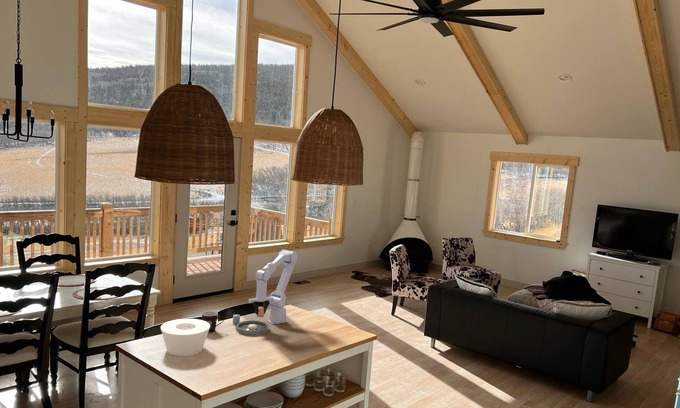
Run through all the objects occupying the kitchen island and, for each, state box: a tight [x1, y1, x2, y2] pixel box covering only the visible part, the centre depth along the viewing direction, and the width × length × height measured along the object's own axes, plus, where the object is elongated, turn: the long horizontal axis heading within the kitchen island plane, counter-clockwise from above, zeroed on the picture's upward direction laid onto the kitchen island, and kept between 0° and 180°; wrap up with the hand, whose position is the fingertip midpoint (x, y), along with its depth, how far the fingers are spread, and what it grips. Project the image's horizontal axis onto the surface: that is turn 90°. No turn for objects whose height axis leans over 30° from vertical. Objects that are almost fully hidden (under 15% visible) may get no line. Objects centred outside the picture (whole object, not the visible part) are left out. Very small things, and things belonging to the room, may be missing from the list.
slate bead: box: [232, 314, 241, 326], centre depth 303 cm, size 4×4×5 cm
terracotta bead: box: [256, 306, 265, 318], centre depth 298 cm, size 4×4×5 cm
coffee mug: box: [201, 310, 225, 334], centre depth 288 cm, size 12×9×10 cm
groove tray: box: [235, 320, 270, 337], centre depth 295 cm, size 18×18×2 cm
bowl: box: [160, 318, 210, 357], centre depth 261 cm, size 24×24×12 cm
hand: (260, 313), depth 298 cm, fingers closed on terracotta bead, 4 cm apart
